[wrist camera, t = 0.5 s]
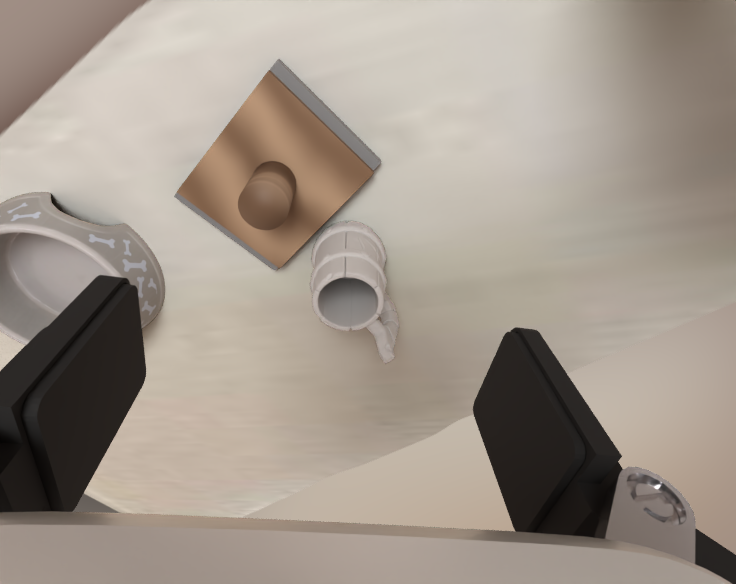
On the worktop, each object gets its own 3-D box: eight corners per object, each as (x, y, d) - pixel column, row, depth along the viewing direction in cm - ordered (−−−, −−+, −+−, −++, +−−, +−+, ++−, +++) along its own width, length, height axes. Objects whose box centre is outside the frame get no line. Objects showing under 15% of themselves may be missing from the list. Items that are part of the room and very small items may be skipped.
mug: (355, 202, 42) (356, 262, 32) (418, 282, 48) (436, 353, 38) (298, 244, 45) (282, 311, 35) (364, 315, 50) (367, 390, 40)
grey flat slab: (279, 59, 35) (277, 59, 34) (380, 159, 40) (381, 162, 39) (177, 192, 41) (174, 196, 40) (276, 266, 46) (274, 270, 45)
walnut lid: (269, 69, 35) (253, 81, 29) (373, 170, 39) (376, 196, 34) (179, 189, 40) (150, 218, 34) (280, 264, 45) (270, 301, 39)
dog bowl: (148, 352, 53) (129, 384, 48) (-20, 298, 48) (-59, 328, 43) (183, 243, 44) (164, 269, 40) (-15, 163, 39) (-62, 182, 35)
